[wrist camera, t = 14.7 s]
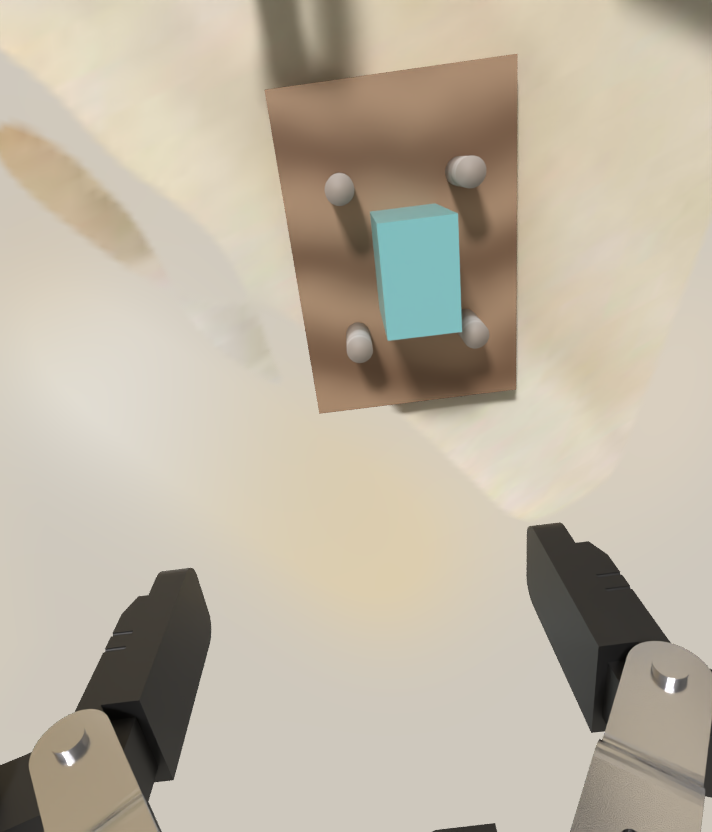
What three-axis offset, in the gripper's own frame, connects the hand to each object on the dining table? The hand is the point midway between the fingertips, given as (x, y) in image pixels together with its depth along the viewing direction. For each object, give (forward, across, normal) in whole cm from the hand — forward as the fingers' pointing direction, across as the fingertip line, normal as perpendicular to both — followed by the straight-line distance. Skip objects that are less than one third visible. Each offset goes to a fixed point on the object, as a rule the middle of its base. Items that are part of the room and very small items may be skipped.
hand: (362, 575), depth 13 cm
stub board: (+26, -4, -3) cm, 27 cm away
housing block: (+25, -4, -3) cm, 25 cm away
